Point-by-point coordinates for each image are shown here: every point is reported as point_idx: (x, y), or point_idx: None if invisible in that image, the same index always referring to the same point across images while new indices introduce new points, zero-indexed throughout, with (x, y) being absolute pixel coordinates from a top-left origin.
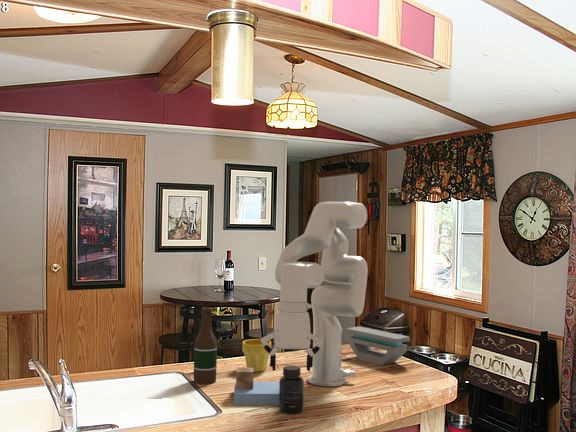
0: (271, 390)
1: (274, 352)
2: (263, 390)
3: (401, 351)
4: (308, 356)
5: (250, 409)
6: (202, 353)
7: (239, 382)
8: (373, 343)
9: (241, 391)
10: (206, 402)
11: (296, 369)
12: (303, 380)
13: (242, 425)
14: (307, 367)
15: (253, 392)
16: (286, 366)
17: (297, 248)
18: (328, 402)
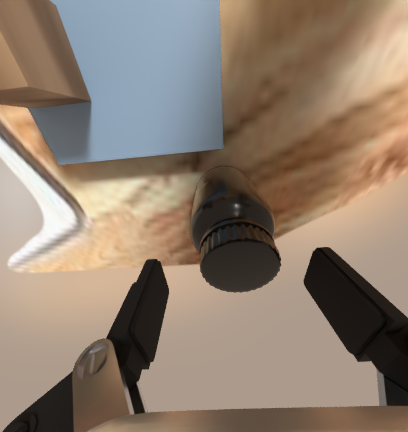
0: (160, 114)
1: (134, 398)
2: (133, 118)
3: None
4: (363, 351)
5: (133, 191)
6: None
7: (19, 103)
8: None
9: (67, 138)
10: (7, 150)
11: (257, 286)
12: (274, 232)
13: (144, 261)
14: (312, 289)
15: (109, 146)
16: (215, 254)
17: None
18: (336, 114)
